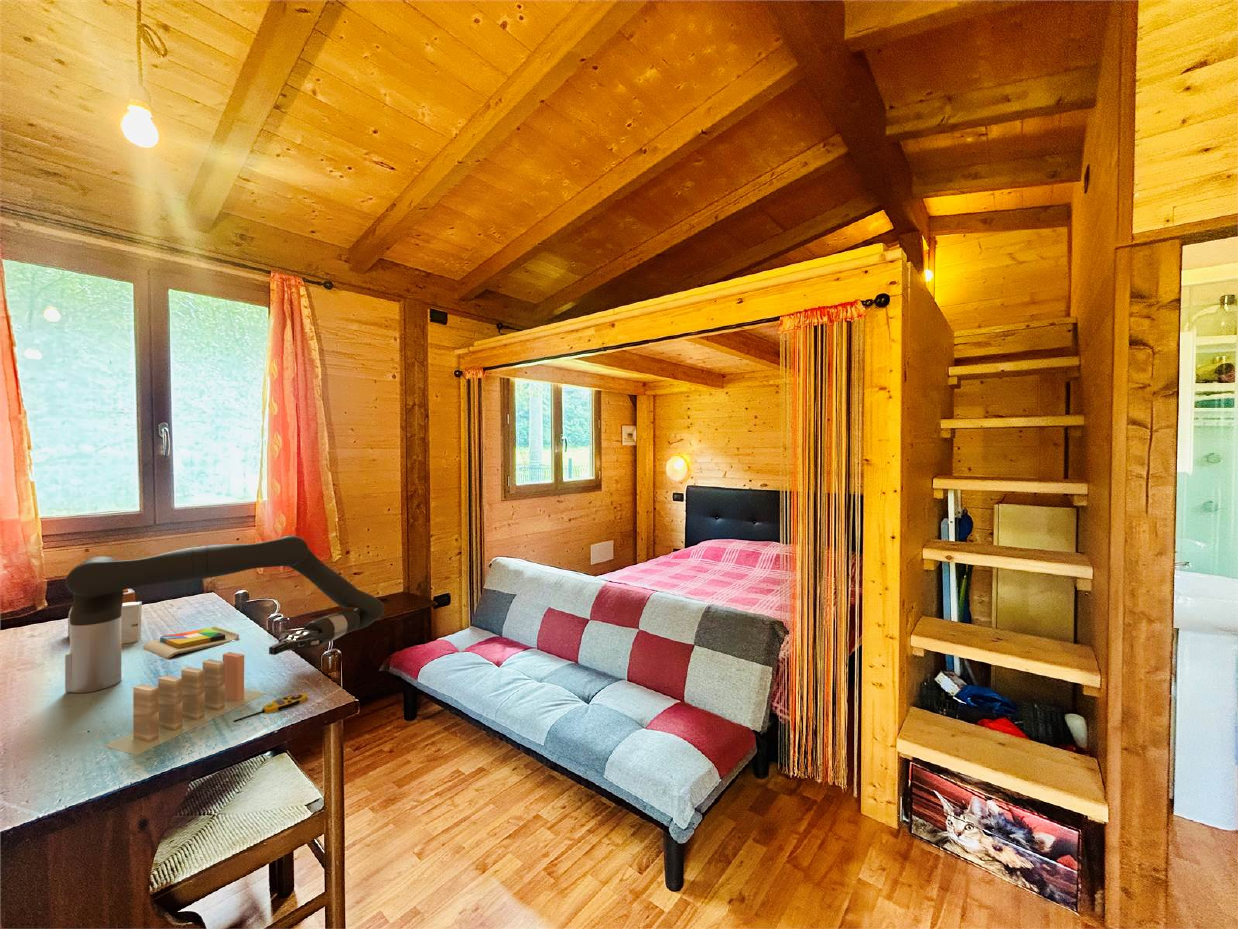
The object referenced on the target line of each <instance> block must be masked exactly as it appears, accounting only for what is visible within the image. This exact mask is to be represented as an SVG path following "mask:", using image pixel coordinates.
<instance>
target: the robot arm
mask: <svg viewBox="0 0 1238 929" xmlns="http://www.w3.org/2000/svg"><path fill="white" fill-rule="evenodd" d="M275 567H279V568H280V567H289V568H290V569H293V570H294V571H296V572H298V573H299V574H301V575H302V576H304V577H305V578H306V579H308V580H309V582H311V583H312V584H313V585H314V586H315V587H316V588H317V589H319V590H320V591H321V592H322V593H323V594H324V595H325V596H327V597H328V598H329V599H330V600H331V601H332V602H334V603H336V605H338V606H339V607H341V608H342V609H345V610H342V611H339V612H337V613H333V614H332V613H331V614H329V615H326V616H323V617H320V618H317V619H315V620H312V621H310V622H308V623H307V624H305V626H304V628H303V629H300V630H298V631H296V632H294V633H292V634H290V633H289V632H287V631H286V632H283V633H282V634H281V636H280V637H279V638H278V643H275V644H272V645H270V646H269V647H268V653H269V654H268V655H271V656H273V655H274V656H276V655H279V654H281V653H283V652H285V651H287V652H289V651H292V650H293V651H295V652H297V651H301V650H306V649H307V650H308V649H312V648H318V647H321V646H323V645H326V644H327V643H330V642H332V641H335V640H336V639H339V638H340V637H342V636H344V635H346V634H348V633H351V632H354V631H358V630H361V629H364V628H366V627H368V626H370V625H371V624H373V623H374V622H376V621H377V620H378V619H380V618H381V617H383V615H384V613H385V605H384V604H383V602H382V601H381V600H380V599H379V598H377V597H376V596H374V595H372V594H370V593H367V592H366V591H362V590H360V589H358V588H357V587H356V586H354V585H353V584H352V583H351V582H350V581H348V580H347V579H346V578H344V577H343V576H342V575H340V574H339V573H337V571H334V570H333V569H332V568H331V567H329V566H327V565H326V564H325V563H324V562H322V561H321V560H320V559H319V558H318V557H317V556H316V555H315V554H314V553H313V551H311V549H310V548H309V546H308V543H307V542H306V541H305V540H304V539H303V538H302V537H301V536H298V535H286V536H282V537H280V538H277V539H272V540H267V541H262V542H261V541H260V542H256V543H246V544H245V543H244V544H243V543H232V544H231V543H229V544H228V543H227V544H210V545H202V546H193V547H188V548H182V549H177V550H174V551H168V552H165V553H161V554H157V555H153V556H148V557H145V558H143V557H142V558H139V559H138V558H137V559H127V560H116V559H115V558H113V557H110V556H94V557H91V558H87V559H86V560H84V561H82V562H81V563H79V564H78V565H76V566H75V567H74V568H72V570H70V571H69V572H68V574H67V576H66V578H65V583H64V584H65V587H66V588H67V590H68V591H69V593H72V594H73V599H72V600H73V603H72V606H71V608H72V610H71V613H70V638H69V652H68V653H66V655H65V656H64V679H65V680H64V686H65V687H64V689H65V690H64V693H74V694H84V693H90V692H91V693H92V692H95V691H101V690H103V689H107V688H110V687H113V686H115V685H116V684H118V683H120V682H121V681H122V673H123V672H122V644H121V611H122V605H123V590H126V589H134V588H139V587H145V586H154V585H165V584H173V583H174V584H175V583H182V582H190V581H199V580H204V579H206V580H207V579H212V578H216V577H220V576H221V577H222V576H227V575H231V574H237V573H240V572H245V571H248V570H253V569H262V568H263V569H264V568H275ZM352 607H354V609H348V608H352Z"/></svg>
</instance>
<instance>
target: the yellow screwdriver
mask: <svg viewBox="0 0 1238 929" xmlns="http://www.w3.org/2000/svg"><path fill="white" fill-rule="evenodd" d="M307 700H309V699H308V695H307V694H306V693H303V692H302V693H296V694H292V695H287V696H284V697H281V698H278V699H276V700H273V701H272V702H268V703H267V704H265V705H263V707H262V709H261V711H257V712H255V713H251V714H249V715H245V716H243V717H239V718H236V719H234V720H232V723H237V722H240V721H243V720H245V719H249V718H251V717H253V716H257V715H260V714H271V713H275V712H280V711H283V710H286V709H290V708H293V707H295V706H298V705H300V704H302V703H304V702H306V701H307Z"/></svg>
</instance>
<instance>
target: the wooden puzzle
mask: <svg viewBox="0 0 1238 929" xmlns="http://www.w3.org/2000/svg"><path fill="white" fill-rule="evenodd" d="M239 636H240V634H238V633H237V632H233V631H231V630H228V629H225V628H222V627H218V626H215V625H213V626H211V627H210V628H208V627H206V628H201V629H194V630H190V631H184V632H177V633H172V634H165V635H162V636H160V639H154V640H150V641H147V642H145V644H144V645H143V647H142V649H143V650H144V649H145V651H147V650H148V651H147V652H149V651H150V653H151V652H152V654H154V655H156V654H157V655H156V656H158V655H159V656H158V657H161V658H163V657H164V658H163V659H165V660H168V659H171V658H172V657H174V656H175V655H180V654H184V653H188V652H193V651H198V650H202V649H206V648H207V649H208V648H212V647H216V645H217V646H220V645H219V644H221V645H224V644H223V643H225V644H228V643H230V642H229V641H232V640H235V641H238V640H239V638H240V637H239ZM227 642H228V643H227ZM232 642H233V641H232Z"/></svg>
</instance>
